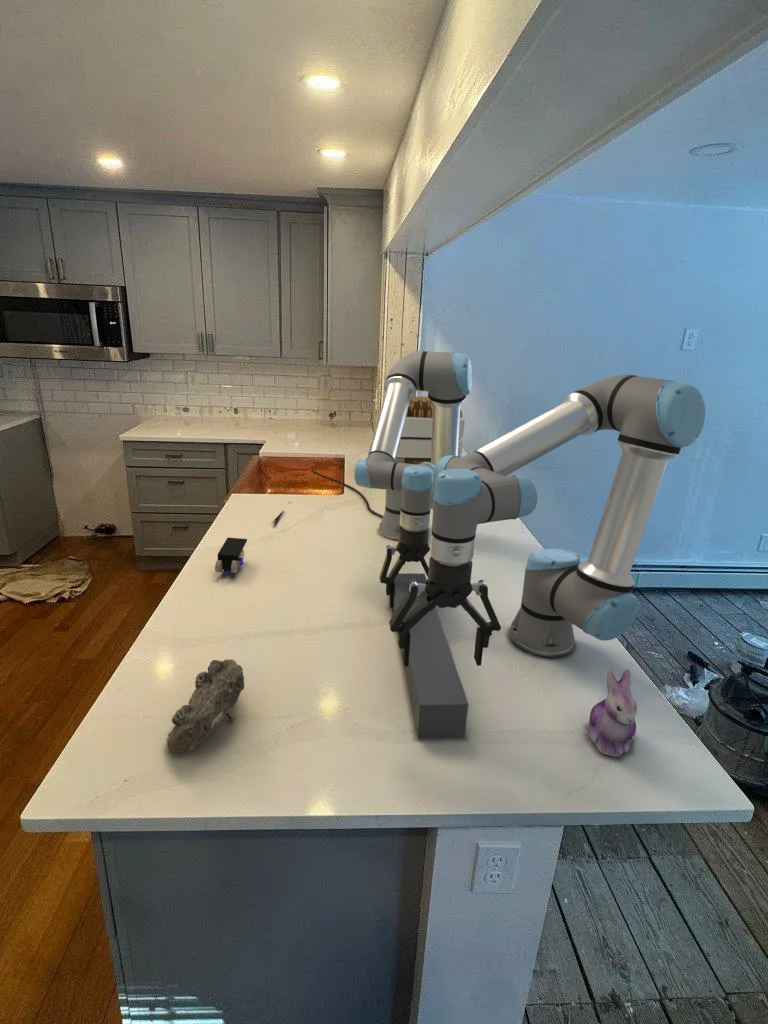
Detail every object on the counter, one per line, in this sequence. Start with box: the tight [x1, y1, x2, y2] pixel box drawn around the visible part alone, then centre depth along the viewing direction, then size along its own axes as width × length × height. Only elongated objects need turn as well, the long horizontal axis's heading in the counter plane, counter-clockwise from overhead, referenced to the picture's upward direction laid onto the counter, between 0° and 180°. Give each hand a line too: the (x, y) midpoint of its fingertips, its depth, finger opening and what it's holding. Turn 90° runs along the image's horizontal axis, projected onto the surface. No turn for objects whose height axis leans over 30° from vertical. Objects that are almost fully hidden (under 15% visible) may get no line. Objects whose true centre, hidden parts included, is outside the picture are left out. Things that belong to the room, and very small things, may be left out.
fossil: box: [166, 658, 245, 754], centre depth 106 cm, size 22×10×15 cm
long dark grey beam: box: [392, 572, 469, 739], centre depth 129 cm, size 54×9×8 cm, turn 5°
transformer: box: [395, 395, 465, 465], centre depth 268 cm, size 34×33×41 cm
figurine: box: [587, 668, 638, 758], centre depth 104 cm, size 9×10×15 cm
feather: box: [271, 509, 284, 527], centre depth 213 cm, size 2×28×2 cm
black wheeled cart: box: [214, 537, 248, 578], centre depth 166 cm, size 7×8×15 cm
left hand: (409, 605), depth 151 cm, fingers closed on long dark grey beam, 9 cm apart
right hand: (441, 661), depth 106 cm, fingers open, 13 cm apart
